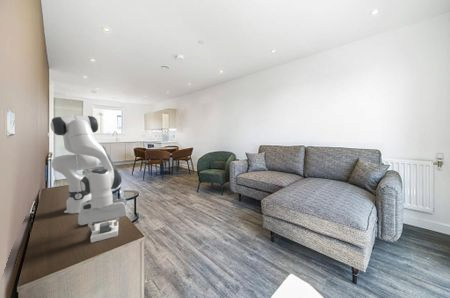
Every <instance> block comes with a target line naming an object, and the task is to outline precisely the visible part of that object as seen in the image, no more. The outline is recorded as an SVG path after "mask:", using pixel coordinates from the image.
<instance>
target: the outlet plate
mask: <svg viewBox="0 0 450 298" xmlns="http://www.w3.org/2000/svg"><path fill="white" fill-rule="evenodd" d="M104 222H105V221H104ZM104 222H99V223H98V224H93V227H94V226H95V231H91V235H90V243H95V242H99V241H104V240H108V239H111V238H115V237H118V236H119V221H118V222H117V226H114V222H116V219H111V220H106V222H110V232H105V233H101V234H100V228H99V227H100V224H101V223H104Z"/></svg>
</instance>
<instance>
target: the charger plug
mask: <svg viewBox="0 0 450 298" xmlns="http://www.w3.org/2000/svg"><path fill="white" fill-rule="evenodd" d="M100 223H101V224H100V227H99V228H100V234H101V233H105V232H110V222H107V221H104V223H103V222H100Z"/></svg>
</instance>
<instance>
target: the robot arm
mask: <svg viewBox="0 0 450 298" xmlns="http://www.w3.org/2000/svg"><path fill="white" fill-rule="evenodd" d="M50 129H51V131H52V132H53V133H54V135H56V136H63V146H64V149H65V151H66V152H69V153H71V154H66V155H65V154H63V155H58V156H54V158H53V159H52V161H51V168H52V169H53V170H54V171H55V172H58V173H60V174H61V175H63V177H65V179H66V181H67V183H68V198H67V200H66V210H64V211H63V213H65V214H78V215H77V216H78V217H77V223H78V225H79V226H85V225H87V226H88V227H89V228H90V229H91V230H90V231H91V232H92V231H95V226H94V225H93V224H92V223H94V222H98V221H101V222H102V221H109V220H113V219H115V220H116V222H114V226H117V222H118V223H119V221H120V218H121V217H125V216H126V215H127V214H128V213H127V207H126V206H127V199H125V198H123V197H122V198H113V192H112V191H113V190H115V189H116V190H117V189H118V188H119V186H120V185H121V183H122V182H123V181H122V176H121V174H120V172H119V171H118V169H116V166H115V164H114V162H113V160H112V158H111V156H110V154H109V153H108V151H107V149H106V147H105V146H103V145H101V144H100V143H99V142H98V141H97V139H96V138H95V133H96V132H97V131H98V129H99V122H98V120H97V118H96V117H94V116H91V115H88V116H87V115H70V116H57V117H52V119H51V122H50ZM100 163H101V165H102V166H103V168H97V167H98V166H99V165H100ZM94 168H95V169H94ZM90 169H92V170H91V171H90V172H89V174H88V175H85V174H81V173H78V172H77V171H82V170H90ZM84 224H85V225H84Z"/></svg>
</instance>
